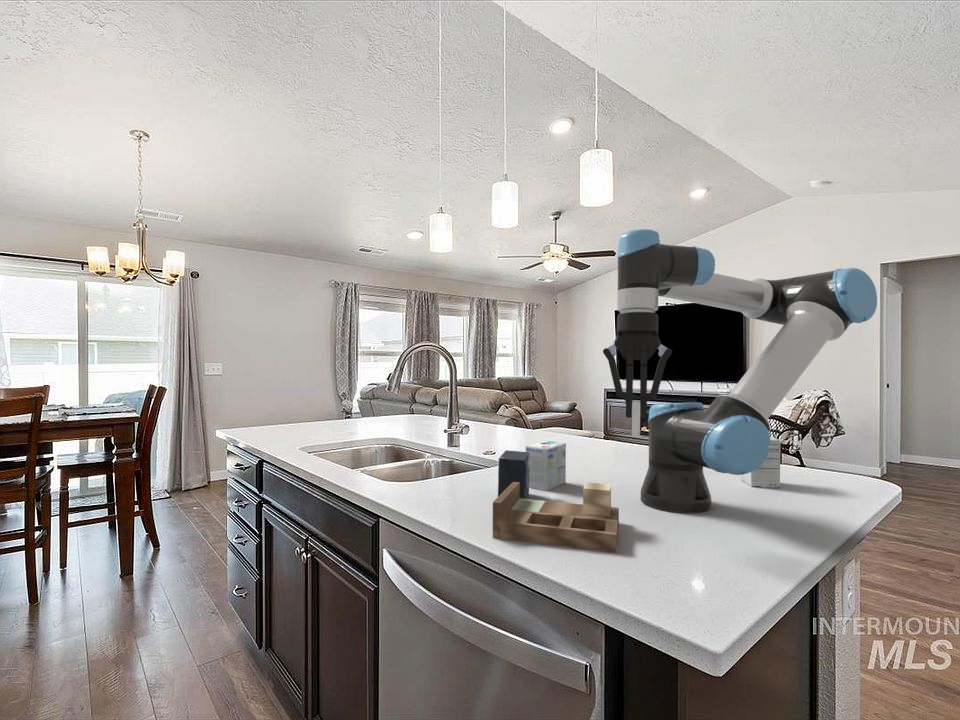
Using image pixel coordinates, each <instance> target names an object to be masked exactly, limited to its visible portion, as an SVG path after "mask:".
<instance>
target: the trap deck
mask: <svg viewBox="0 0 960 720" xmlns="http://www.w3.org/2000/svg"><path fill="white" fill-rule="evenodd" d="M619 523H620V508H619V507H614V506H611V512H610V517H606V516H596V515H586V514H583V503H573V502H572V503H570V502H560V501H559V502H558V501H550V500H539V499H538V500H537V499H528V498H527V499H520V482H512V483H511V484H510V485H509V486H508V487H507V488H506V489H505V490H504V491H503V492H502V493H501V494H500V495H499V497H498V496H497V497H496V498H495V499H494V501H492V538H493V539H502V540H509V541H510V540H511V541H519V542H527V543H535V544H545V545H550V546H551V545H553V546H561V547H567V548H570V547H571V548H578V549H587V550H593V551H594V550H596V551H603V552H610V553H611V552H612V553H617V548H618V538H619Z"/></svg>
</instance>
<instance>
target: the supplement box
mask: <svg viewBox="0 0 960 720" xmlns="http://www.w3.org/2000/svg"><path fill="white" fill-rule="evenodd" d="M770 439H771V442H770V444H768V448H770V450H769V453H768V456H767V458H766V459H765V461H764V462H763V463H762V464H761V465H760V466H759V467H758V468H757V469H756V470H754V471H752V472H750V473H747V474H743V475H739V476H740V478H739V479H740V480H741V481H742V482H744V483H745V484H747V485H748V484H749V485H748V486H750V487H751V486H765V487H764V488H766V487H780V488H781V439H778V438H775V437H772V436H770Z"/></svg>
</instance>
